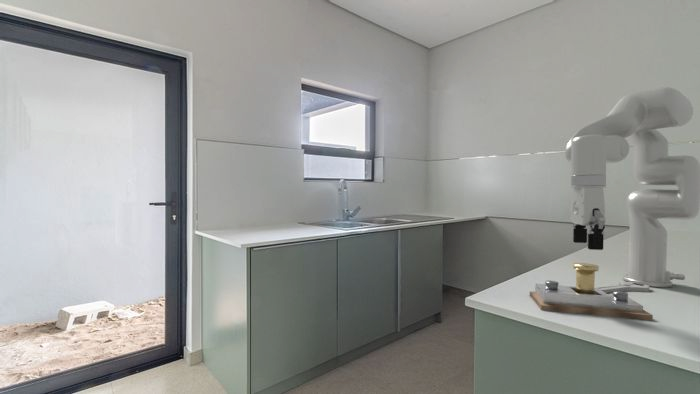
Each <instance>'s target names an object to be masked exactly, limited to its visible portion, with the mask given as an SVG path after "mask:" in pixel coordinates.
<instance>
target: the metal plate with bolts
mask: <svg viewBox="0 0 700 394" xmlns="http://www.w3.org/2000/svg"><path fill="white" fill-rule="evenodd" d="M534 290H535V291H534V292H535V294H536V295H537V296H538V297H539V299H540V300H541V301H542V302H543V303H549V304H560V305H571V306H582V307H593V308H604V309H615V310H627V311H638V312H643V310H644V305H642V304H640V303H639V302H637V301H635V300H634V299H632V298H630V297H629V293H627V292H626V291H613V292H612V294H608V293H605V292H603V291H601V290H600V289H598V288H595V287H594V295H592V294H579V293H576V286H575V285H574V286H573V285H572V286H571V285H560V284H559V282H558V281H555V280H549V279H548V280H545V283H535V288H534Z"/></svg>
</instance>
